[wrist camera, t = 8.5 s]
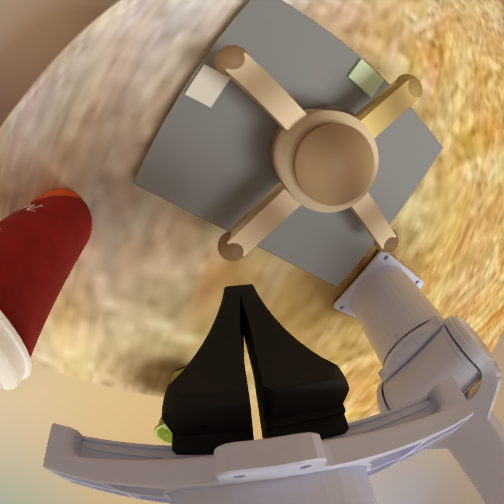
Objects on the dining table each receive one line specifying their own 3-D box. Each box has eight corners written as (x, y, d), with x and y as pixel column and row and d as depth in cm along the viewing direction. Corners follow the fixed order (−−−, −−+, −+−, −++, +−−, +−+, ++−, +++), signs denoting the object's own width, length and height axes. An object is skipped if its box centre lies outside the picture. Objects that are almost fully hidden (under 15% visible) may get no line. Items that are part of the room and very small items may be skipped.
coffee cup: (46, 157, 17) (-89, 248, 4) (119, 206, 20) (24, 353, 7) (22, 233, 20) (-65, 341, 7) (85, 276, 23) (24, 411, 10)
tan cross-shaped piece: (297, 299, 25) (310, 332, 22) (124, 159, 17) (102, 174, 13) (443, 168, 20) (474, 183, 16) (317, -13, 12) (340, -34, 8)
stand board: (434, 144, 20) (444, 148, 19) (333, 280, 26) (338, 289, 25) (258, -6, 13) (261, -13, 12) (137, 178, 19) (131, 184, 18)
